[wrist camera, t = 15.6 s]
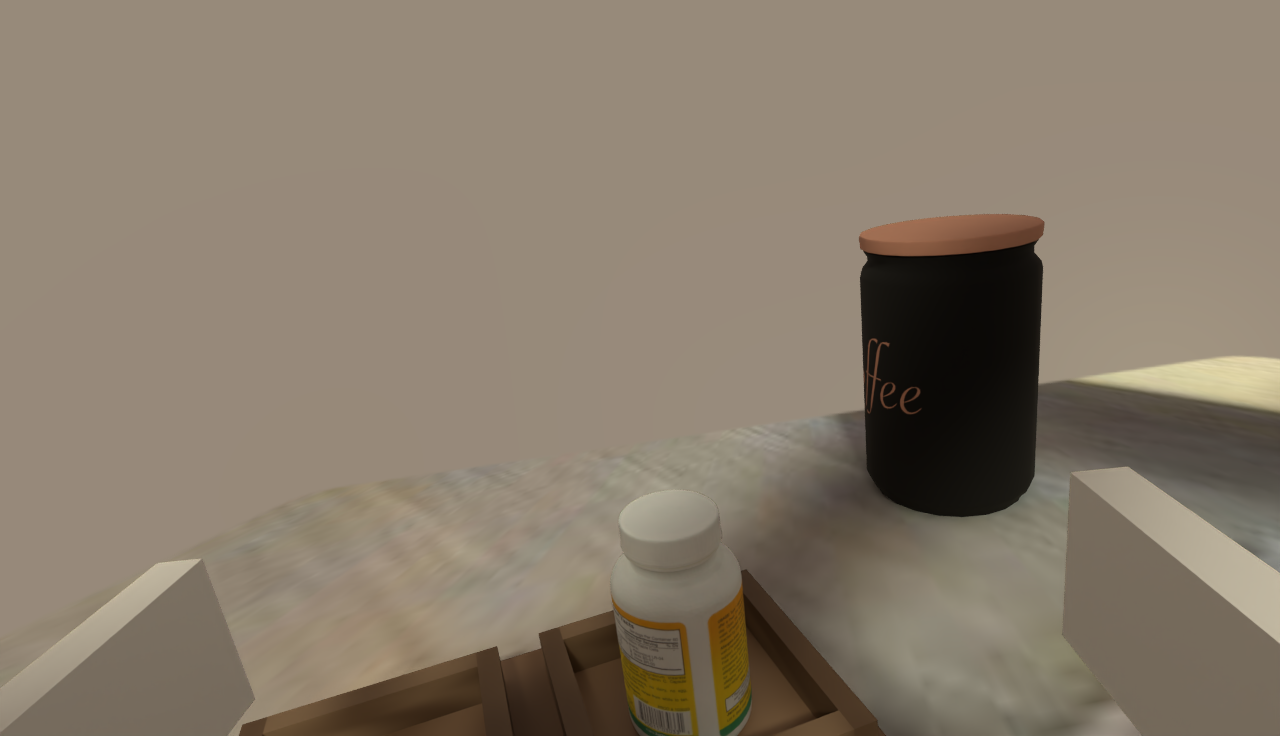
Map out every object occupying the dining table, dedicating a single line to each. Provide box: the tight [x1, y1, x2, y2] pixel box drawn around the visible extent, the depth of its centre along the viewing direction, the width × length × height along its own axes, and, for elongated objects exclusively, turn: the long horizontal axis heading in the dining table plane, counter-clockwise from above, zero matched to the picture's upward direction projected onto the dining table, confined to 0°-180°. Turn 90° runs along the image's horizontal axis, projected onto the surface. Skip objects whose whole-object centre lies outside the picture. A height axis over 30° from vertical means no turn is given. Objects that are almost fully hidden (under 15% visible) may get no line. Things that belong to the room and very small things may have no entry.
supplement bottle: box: [610, 490, 752, 736], centre depth 28 cm, size 5×5×10 cm
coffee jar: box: [859, 214, 1044, 517], centre depth 46 cm, size 11×11×18 cm
